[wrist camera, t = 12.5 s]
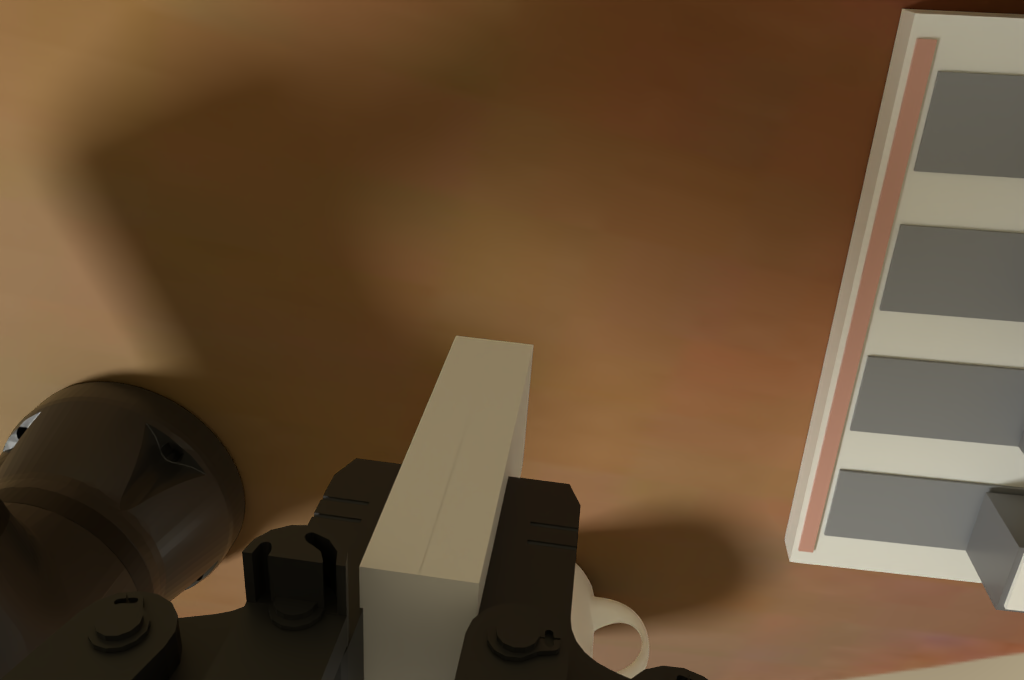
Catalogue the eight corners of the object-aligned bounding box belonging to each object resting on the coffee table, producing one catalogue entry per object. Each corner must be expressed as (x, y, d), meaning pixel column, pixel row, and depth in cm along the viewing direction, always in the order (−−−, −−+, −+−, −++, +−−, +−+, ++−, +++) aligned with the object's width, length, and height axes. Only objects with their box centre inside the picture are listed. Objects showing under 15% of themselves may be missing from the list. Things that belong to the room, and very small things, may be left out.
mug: (656, 634, 57) (660, 780, 47) (480, 642, 59) (449, 782, 49) (640, 529, 53) (640, 664, 43) (452, 542, 55) (414, 673, 46)
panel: (784, 539, 52) (790, 563, 50) (902, 8, 38) (916, 13, 36) (1028, 565, 50) (1044, 592, 48) (1239, 24, 37) (1273, 30, 35)
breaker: (965, 550, 48) (997, 612, 43) (985, 492, 46) (1021, 550, 42) (1022, 557, 47) (1060, 620, 43) (1045, 498, 46) (1087, 557, 41)
